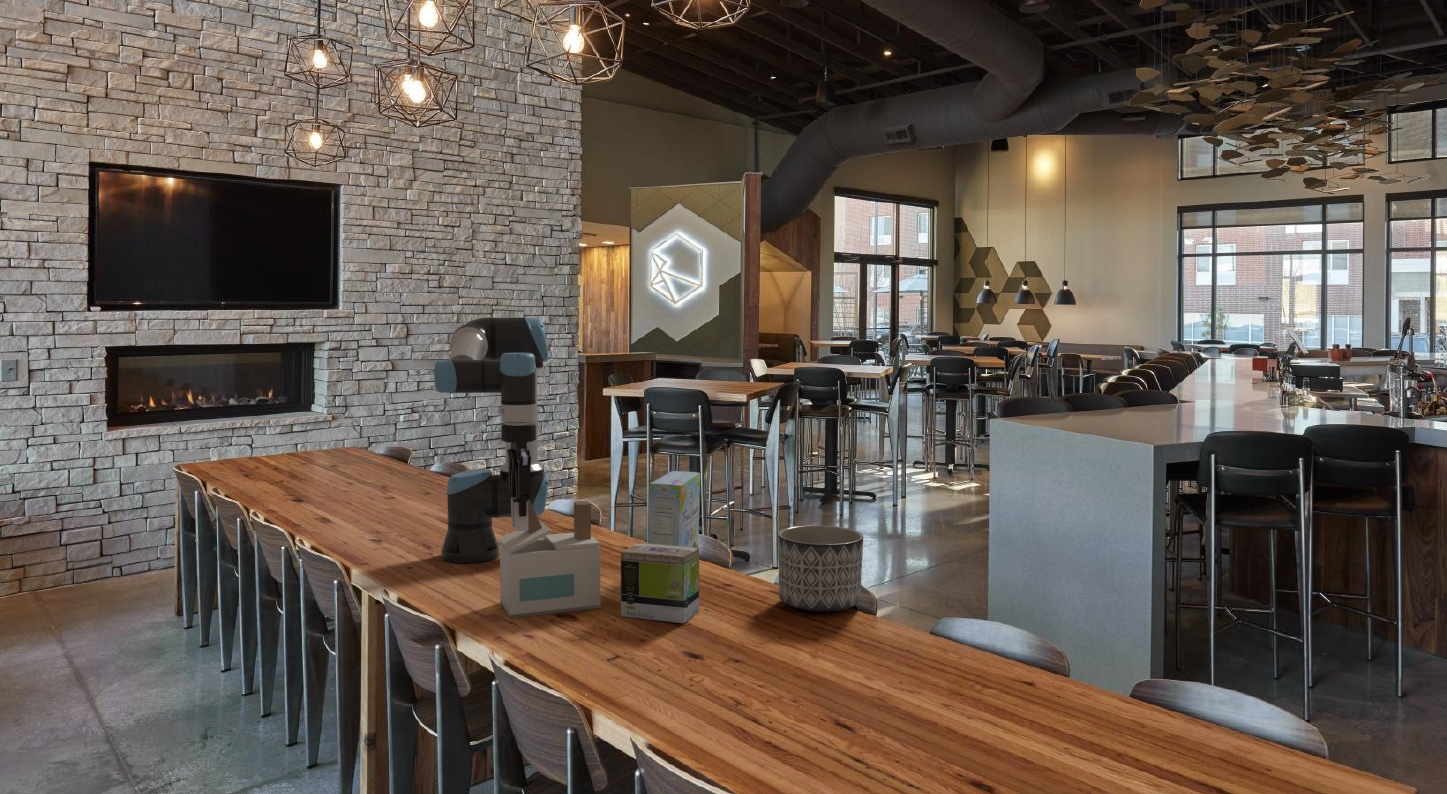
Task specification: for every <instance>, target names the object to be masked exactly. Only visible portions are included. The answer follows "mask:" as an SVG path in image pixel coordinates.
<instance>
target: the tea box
mask: <svg viewBox="0 0 1447 794" xmlns="http://www.w3.org/2000/svg"><path fill="white" fill-rule="evenodd" d="M699 612H700V547H699V546H698V547H686V546H673V545H661V544H648V542H647V543H646V542H645V543H644V542H638V543H636V544H634V545H632V546H630V547H627V548H626V549H623V550H622V551H621V552H620V613H621V615H620V616H621V617H624V618H632V619H634V618H635V619H640V620H641V619H642V620H651V621H659V622H668V623H677V624H685V623H686V622H688V621H689V620H690V619H691V618H693V617H694V616H695V615H697V613H699Z"/></svg>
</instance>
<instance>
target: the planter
mask: <svg viewBox="0 0 1447 794" xmlns="http://www.w3.org/2000/svg"><path fill="white" fill-rule="evenodd" d="M777 537H778V538H777V540H778V541H777V543H778V544H777V545H778V546H777V547H778V552H777V553H778V557H777V558H778V597H779V600H780V601H781V602H783V603H784V604H786V606H790V607H792V608H795V609H800V610H804V611H807V612H813V613H831V612H832V613H833V612H837V611H842V610H847V609H851V608H853V607H855V606H857V605H858V604H859V603H860V601H861V593H862V591H861V590H862V571H863V569H862V568H863V552H864V551H863V549H864V535H863V533H861V532H859V531H857V530H855V529H852V528H846V527H843V526H834V525H824V524H823V525H822V524H821V525H820V524H814V525H813V524H812V525H808V524H807V525H796V526H795V525H794V526H789V527H786V528H783V529H780V530H779V531H778V533H777Z"/></svg>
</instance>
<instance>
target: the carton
mask: <svg viewBox="0 0 1447 794" xmlns="http://www.w3.org/2000/svg"><path fill="white" fill-rule="evenodd" d="M591 523H592V504H591V503H590V502H589V501H586V500H585V501H573V532H567V533H555V534H552V533H550V534H548V535H546V536H544V537H543V538H540V539H538V540H536V541H534V542H532V543H531V544H529V545H527V546H525V547H523V548H521V549H519V550H517V551H515V552H513V553H511V554H510V553H509V552H508V551H507V550H506V548H505V547H504V546H503V545H502V543H501V542H500V541H499V573H500V574H499V583H500V584H499V589H500V593H499V594H500V595H499V596H500V597H499V598H500V599H499V601H500V605H501V607H502V608H503V609H504V611H505V612H506V614H507V615H508V617H509V619H511V620H512V619H518V618H528V617H535V616H543V615H544V616H545V615H552V614H561V613H570V612H579V611H589V610H598V609H601V543H600V542H599V541H598V540H597V539H596V538H595V537H593V536H592V524H591Z"/></svg>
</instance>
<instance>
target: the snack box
mask: <svg viewBox="0 0 1447 794" xmlns="http://www.w3.org/2000/svg"><path fill="white" fill-rule="evenodd" d="M648 486H649V488H648V491H649V492H648V519H647V520H648V524H647V526H648V527H647V543H648V544H661V545H673V546H686V547H698V548H699V534H700V532H699V531H700V501H701V499H700V497H701V493H700V492H701V473H700V472H696V471H682V470H680V471H679V470H671V471H669V472H668V473H666V474H664V475H662V476H661V477H660V478H657V479H656V480H653V481H652V482H649V485H648Z"/></svg>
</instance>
